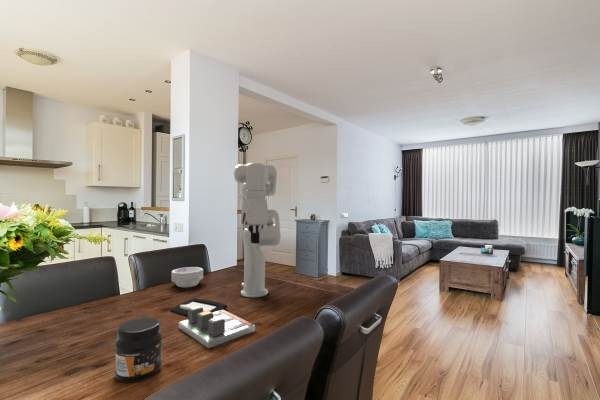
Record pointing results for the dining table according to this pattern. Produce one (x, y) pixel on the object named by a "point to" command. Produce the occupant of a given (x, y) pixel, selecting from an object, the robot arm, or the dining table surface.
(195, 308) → the block
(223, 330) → the breaker right
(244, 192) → the robot arm
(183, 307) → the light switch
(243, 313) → the dining table surface
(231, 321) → the panel
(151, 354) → the supplement container
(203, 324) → the block
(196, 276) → the grey round bowl
